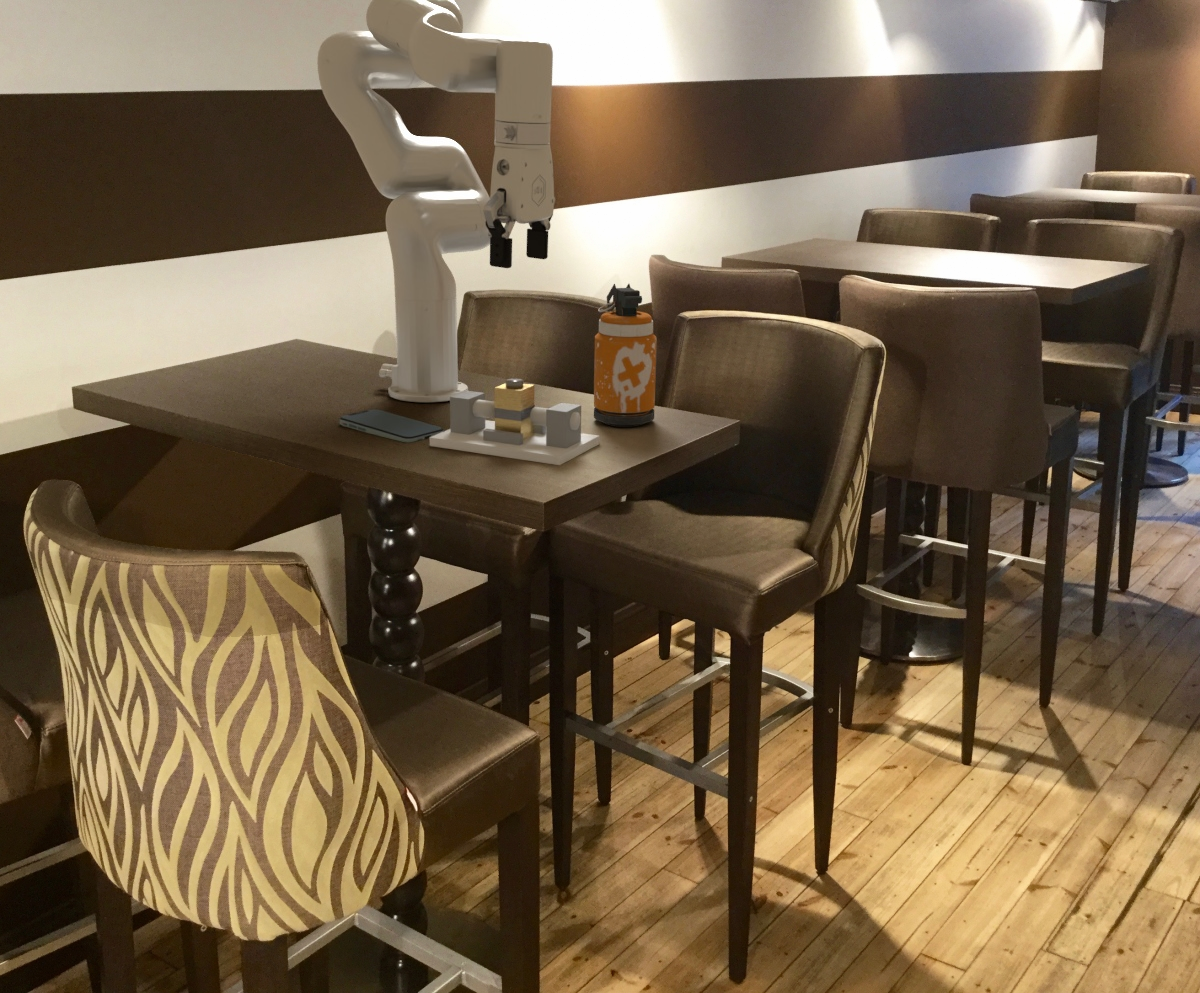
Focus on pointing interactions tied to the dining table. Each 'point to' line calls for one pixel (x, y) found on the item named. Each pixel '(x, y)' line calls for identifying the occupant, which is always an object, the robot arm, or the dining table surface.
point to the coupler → (514, 407)
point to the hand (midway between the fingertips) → (519, 262)
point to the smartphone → (389, 425)
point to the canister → (624, 362)
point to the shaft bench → (549, 443)
